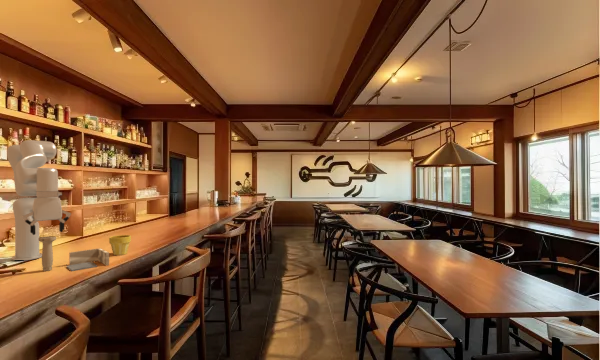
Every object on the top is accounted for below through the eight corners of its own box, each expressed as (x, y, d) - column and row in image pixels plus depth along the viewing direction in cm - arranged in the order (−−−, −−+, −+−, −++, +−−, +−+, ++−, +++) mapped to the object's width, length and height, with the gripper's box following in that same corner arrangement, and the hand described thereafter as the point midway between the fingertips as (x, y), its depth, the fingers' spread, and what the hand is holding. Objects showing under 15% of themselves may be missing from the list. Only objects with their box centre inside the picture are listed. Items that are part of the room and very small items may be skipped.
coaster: (66, 267, 145) (66, 265, 145) (91, 262, 152) (91, 261, 152) (71, 271, 138) (71, 270, 138) (97, 266, 145) (97, 265, 145)
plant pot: (119, 251, 177) (119, 234, 177) (135, 252, 175) (135, 235, 175) (104, 255, 167) (104, 237, 167) (121, 256, 164) (121, 238, 164)
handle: (50, 271, 137) (50, 238, 137) (35, 271, 137) (35, 238, 137) (58, 268, 142) (58, 236, 142) (44, 268, 142) (44, 236, 142)
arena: (69, 264, 148) (69, 252, 148) (100, 259, 158) (100, 248, 158) (76, 270, 139) (76, 257, 139) (109, 265, 148) (109, 252, 148)
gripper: (69, 194, 148) (69, 230, 148) (20, 195, 136) (21, 234, 135) (72, 194, 143) (73, 231, 143) (23, 196, 130) (23, 236, 130)
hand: (47, 233), depth 139 cm, fingers open, 9 cm apart
